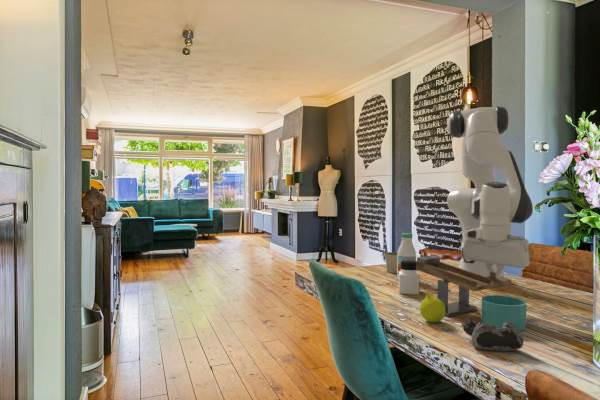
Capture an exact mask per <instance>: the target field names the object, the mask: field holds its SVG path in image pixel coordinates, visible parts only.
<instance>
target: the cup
mask: <svg viewBox="0 0 600 400" xmlns="http://www.w3.org/2000/svg"><path fill="white" fill-rule="evenodd" d="M480 322H481V323H487V324H494V325H495V326H497V327H498V328H503V323H505V322H508V323H513V324H514V325H515V326H516V327H517V328H518V329H519V330H520V332H523V331H526V328H527V301H525V300H523V299H521V298H519V297H513V296H511V295H510V296H508V295H498V294H497V295H495V294H493V295H491V294H490V295H489V294H488V295H484V296H482V297H481V320H480Z"/></svg>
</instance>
